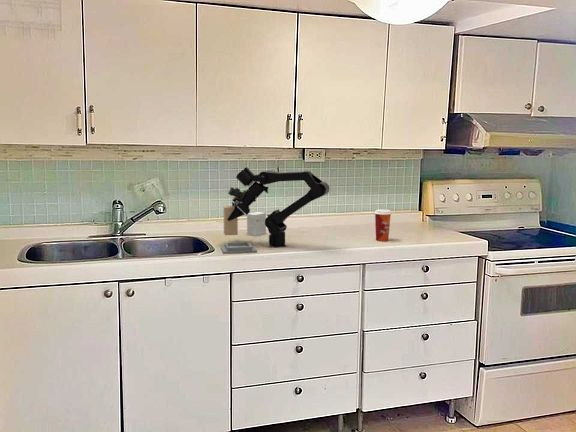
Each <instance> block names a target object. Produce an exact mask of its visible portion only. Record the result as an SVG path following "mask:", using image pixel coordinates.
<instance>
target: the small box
mask: <svg viewBox="0 0 576 432" xmlns="http://www.w3.org/2000/svg"><path fill="white" fill-rule="evenodd" d="M266 218H267V213H266V212H262V211H255V212H249V213H248V214H247V215H246V235H247V236H251V237H258V236H262V235H266V234H267V227H266V225H265V219H266Z"/></svg>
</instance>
